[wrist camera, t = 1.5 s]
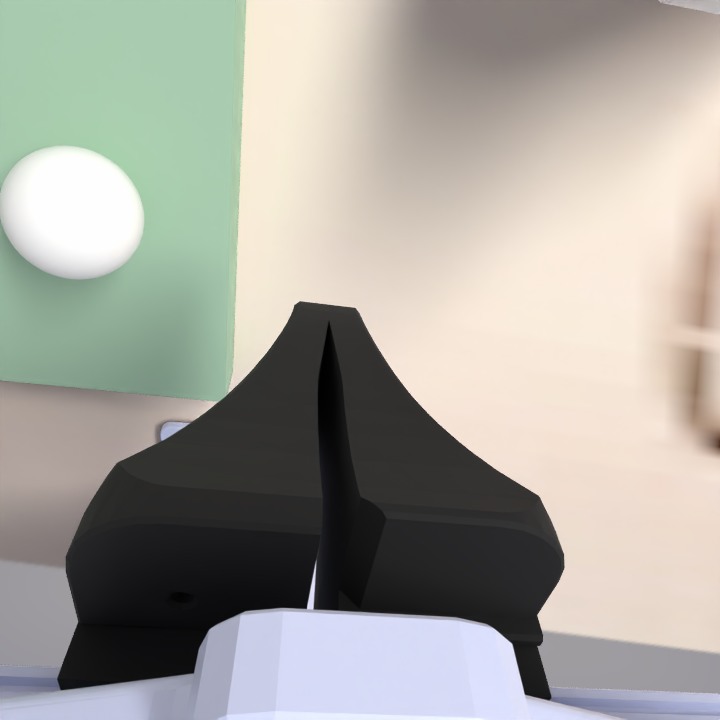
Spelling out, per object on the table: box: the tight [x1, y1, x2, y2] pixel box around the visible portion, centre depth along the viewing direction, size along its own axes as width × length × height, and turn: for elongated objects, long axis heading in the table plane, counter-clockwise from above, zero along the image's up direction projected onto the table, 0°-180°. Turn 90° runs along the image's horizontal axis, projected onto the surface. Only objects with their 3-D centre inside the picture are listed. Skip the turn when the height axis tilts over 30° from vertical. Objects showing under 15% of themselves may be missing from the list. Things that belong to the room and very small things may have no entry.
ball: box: [0, 145, 144, 280], centre depth 16 cm, size 4×4×4 cm
